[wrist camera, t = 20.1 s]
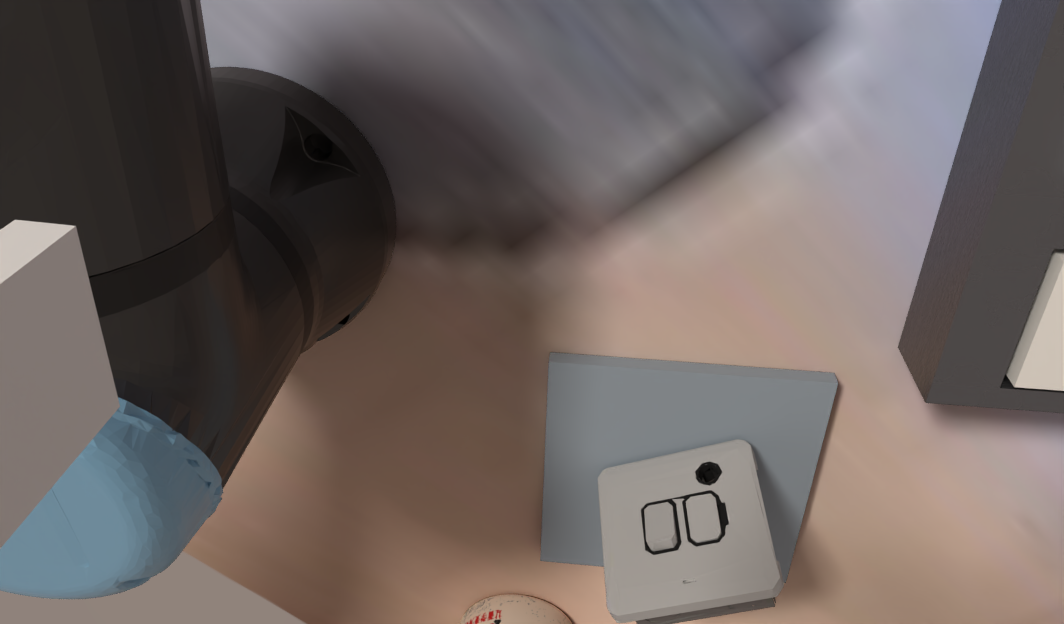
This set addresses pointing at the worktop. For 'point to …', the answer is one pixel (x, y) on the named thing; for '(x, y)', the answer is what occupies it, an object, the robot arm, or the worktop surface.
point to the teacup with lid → (514, 611)
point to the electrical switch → (687, 536)
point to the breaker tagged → (1042, 334)
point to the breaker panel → (995, 221)
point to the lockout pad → (674, 436)
